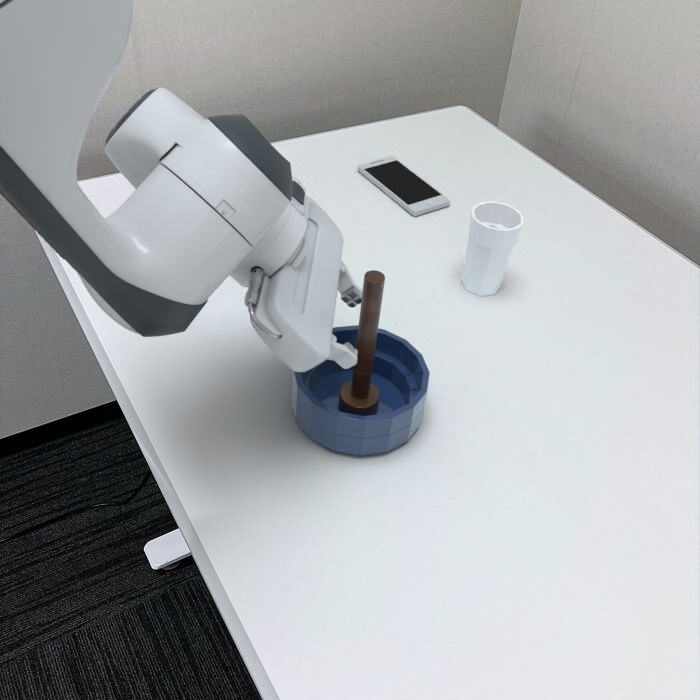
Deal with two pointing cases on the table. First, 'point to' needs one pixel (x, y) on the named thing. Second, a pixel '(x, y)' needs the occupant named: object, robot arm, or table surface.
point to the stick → (365, 351)
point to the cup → (490, 246)
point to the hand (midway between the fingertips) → (355, 329)
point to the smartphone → (403, 185)
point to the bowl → (394, 402)
